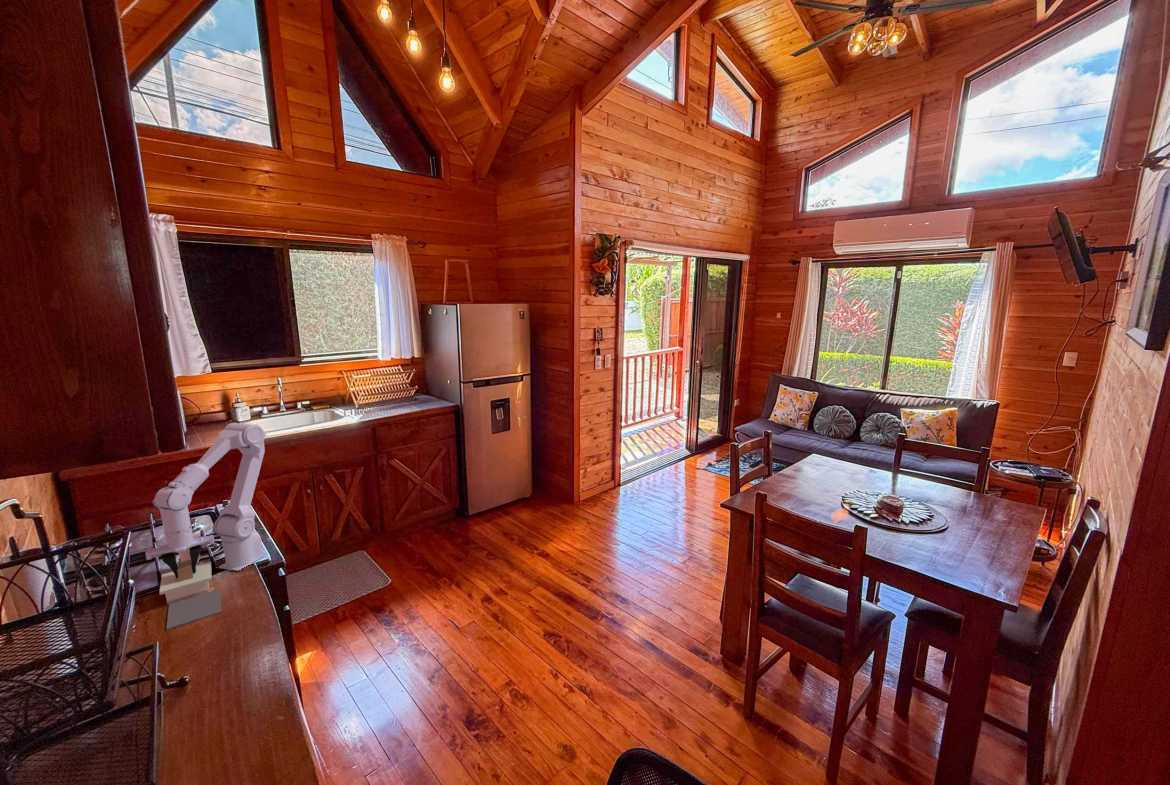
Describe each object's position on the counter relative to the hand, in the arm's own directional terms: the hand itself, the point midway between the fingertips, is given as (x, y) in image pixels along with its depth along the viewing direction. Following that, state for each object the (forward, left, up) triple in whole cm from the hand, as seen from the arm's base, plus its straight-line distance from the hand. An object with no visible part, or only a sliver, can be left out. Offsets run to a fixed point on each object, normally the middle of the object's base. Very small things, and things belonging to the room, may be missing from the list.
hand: (186, 574), depth 136 cm
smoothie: (-10, -12, -5) cm, 16 cm away
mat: (+6, +10, -5) cm, 13 cm away
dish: (0, 0, -5) cm, 5 cm away
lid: (0, 0, -1) cm, 1 cm away
